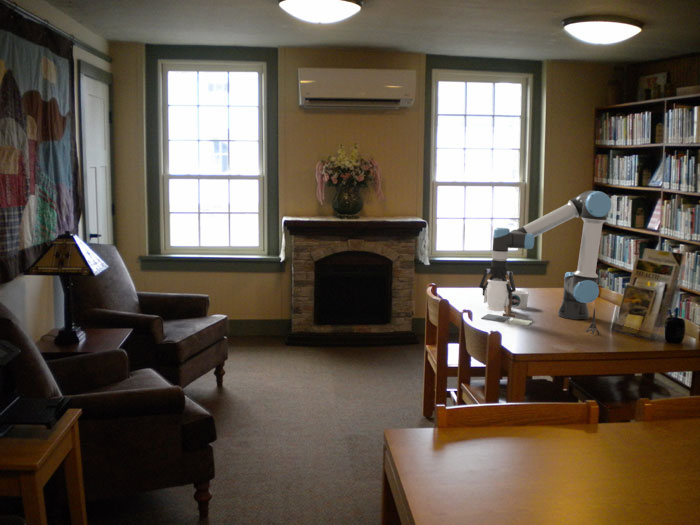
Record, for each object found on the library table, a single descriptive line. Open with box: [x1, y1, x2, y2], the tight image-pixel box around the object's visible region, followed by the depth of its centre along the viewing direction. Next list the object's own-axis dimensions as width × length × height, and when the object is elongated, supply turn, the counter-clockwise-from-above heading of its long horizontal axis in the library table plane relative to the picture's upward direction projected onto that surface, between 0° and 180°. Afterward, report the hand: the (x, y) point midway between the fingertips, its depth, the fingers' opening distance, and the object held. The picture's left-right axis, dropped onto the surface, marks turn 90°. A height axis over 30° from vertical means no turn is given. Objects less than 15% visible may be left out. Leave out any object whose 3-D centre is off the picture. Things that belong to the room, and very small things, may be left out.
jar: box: [486, 278, 510, 312], centre depth 350 cm, size 11×10×15 cm
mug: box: [511, 290, 529, 310], centre depth 383 cm, size 13×10×8 cm
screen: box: [502, 295, 516, 318], centre depth 366 cm, size 6×18×12 cm, turn 175°
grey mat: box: [480, 313, 510, 323], centre depth 352 cm, size 11×11×1 cm
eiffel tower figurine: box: [584, 307, 600, 334], centre depth 328 cm, size 15×10×13 cm
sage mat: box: [508, 317, 533, 326], centre depth 345 cm, size 9×9×1 cm
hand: (496, 303), depth 351 cm, fingers closed on jar, 10 cm apart
